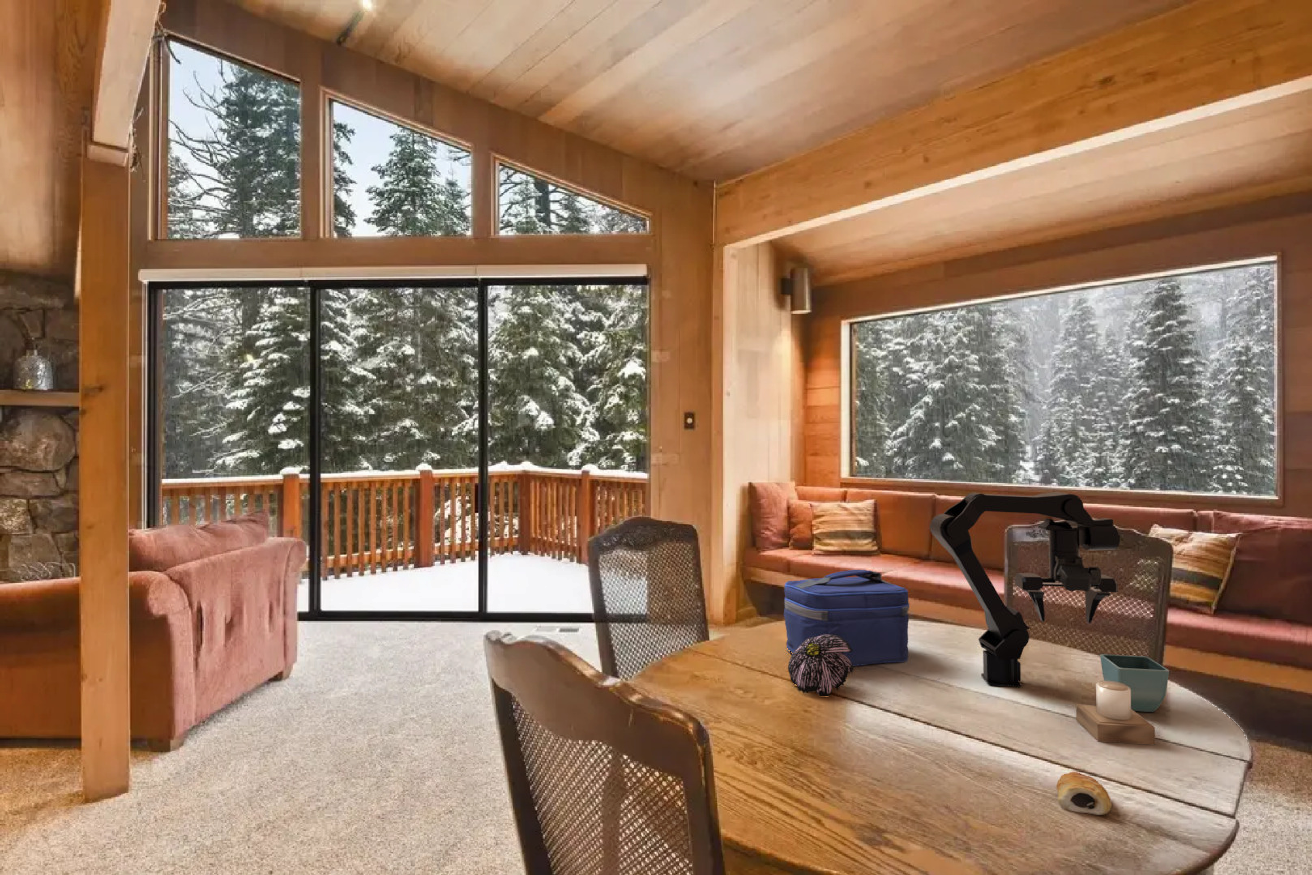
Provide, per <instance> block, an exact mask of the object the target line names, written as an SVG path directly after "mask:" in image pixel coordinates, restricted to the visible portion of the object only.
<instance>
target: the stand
mask: <svg viewBox="0 0 1312 875" xmlns="http://www.w3.org/2000/svg"><path fill="white" fill-rule="evenodd" d="M1075 711H1076V712H1075V714H1076V716H1075V717H1076V718H1075V720H1077V721H1076V723H1078V724H1079V723H1080V724H1081V725H1080V724H1079V725H1080V726H1081V727H1082V728H1083V729H1084V730H1086V732H1088V733H1089V734H1090V735H1091V737H1093V738H1094V739H1095V740H1096V741H1097V742H1102V741H1104V743H1121V744H1137V745H1138V744H1139V745H1153V744H1155V745H1156V727H1155V726H1154V725H1153V724H1152V723H1150V722H1149V721H1148V720H1146V719H1145V718H1143V717H1142V716H1141V715H1140V714H1139V713H1137V711H1133V710H1132V709H1131V719H1129V720H1116V719H1110V718H1107V717H1104V716H1101V715H1099V714H1098V713H1097V705H1090V704H1075Z"/></svg>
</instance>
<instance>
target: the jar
mask: <svg viewBox="0 0 1312 875" xmlns="http://www.w3.org/2000/svg"><path fill="white" fill-rule="evenodd" d="M1095 694H1096V695H1095V696H1096V698H1095V699H1096V700H1095V701H1096V702H1095V703H1096V704H1095V706H1097V713H1098V714H1099V715H1101V716H1104V717H1107V718H1110V719H1116V720H1129V719H1131V689H1130V688H1129V687H1128V686H1127V685H1125V684H1122V683H1119V682H1114V681H1104V680H1100V681H1098V682H1096V683H1095Z"/></svg>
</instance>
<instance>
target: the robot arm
mask: <svg viewBox="0 0 1312 875" xmlns="http://www.w3.org/2000/svg"><path fill="white" fill-rule="evenodd" d="M984 512H994V513H995V512H997V513H1013V514H1014V513H1015V514H1017V513H1019V514H1037V515H1041V516H1046V517H1047V518H1046V519H1044V521H1043V522H1041V523H1039V525H1038V526H1037V528H1038V529H1041V530H1044V531H1048V552H1047V558H1048V560H1049V563H1048V564H1049V570H1047V576H1048V577H1042V576H1040V575H1038V574H1036V573H1034V572H1029V573H1028V572H1017V573H1016V575H1015V576H1014V586H1016V587H1017V588H1020V590H1022V591H1024V592H1026V593H1027V594H1028V596H1029V598H1030V599H1031V600H1032V604H1033V605H1034V608H1035V610H1036V612H1037V615H1038V617H1039V619H1040V621H1041V622H1045V621H1046V620H1045V618H1046V615H1045V604H1044V596H1045V591H1043V590H1042V589H1043V587H1063V588H1064V589H1065V590H1067V591H1068V592H1075V591H1083V592H1084V594H1085V595H1084V599H1085V600H1084V602H1085V603H1084V604H1085V605H1084V606H1085V608H1084V609H1085V619H1086V622H1087V624H1091V623H1092V621H1093V618H1094V616H1095V613H1096V611H1097V610H1098V607H1099V604H1100V603H1101V601H1102V600H1103V599H1104V598H1106V597H1111V595H1112V593H1118V591H1119V590H1118V589H1119V588H1118V582H1117V580H1116V579H1115V578H1114V577H1111V576H1109V575H1106V574H1102V571H1101V570H1102V569H1101V568H1099V567H1097V566H1088V567H1084V564H1083V561H1084V560H1083V557H1082V556H1080V546H1081V547H1082V549H1084V550H1085V551H1114V550H1117V549H1118V548H1119V546H1120V543H1121V535H1120V534H1119V532H1118V531H1119V530H1118V529H1117V527H1116V526H1115V524H1114V519H1113V518H1107V517H1106V518H1105V517H1101V518H1097V519H1095V518H1092V516H1091V515H1090V513H1089V512H1088V511H1087V510H1086V509H1085V507H1084V502H1083V501H1082V499H1081V498H1080V497H1079V496H1078V495H1076V494H1073V493H1067V492H1059V491H1054V492H1045V493H1039V494H1036V495H1017V494H1016V495H1015V494H1014V495H1013V494H1011V495H1010V494H990V493H979V492H969V493H968V494H967V495H965V496H964V497H963V498H962V499H961V500H960V501H958V502H957V503H955V504H954V505H952V506H950V507H949V508H948V509H946V510H945V511H944V512H943V513H939V514H936V515H935V516H934V517H933V518H931V519H932V520H931V521H930V524H929V530H930V533H931V534H932V536H934V538H935V539H936V540H937V541H938V542H939V544H940V545H941V546H942V547H943V548H944V549H945V550H946V551H947V552H948V553H949V554H950V555H951V556H952V557H953V559H954V561H955V563H956V564H957V566H958V568H959V569H960V572H961V573H962V575H963V576H964V578H965V579H966V581H967V583H968V585H969V587H970V589H971V590H972V592H973V594H974V595H975V597H976V598H977V601H978V603H979V604H980V606H981V607H982V609H983V611H984V619H985V620H984V621H985V624H986V626H987V630H986V631H984V633H983V634H982V635H981V636H979V638H978V643H979V645H980V647H981V648H982V649H983V650H982V659H983V660H982V661H983V662H982V664H983V665H982V667H983V669H982V670H983V672H982V673H980V675H981V677H982V679H983V680H984V681H985V682H986V683H987V685H988V686H997V687H998V686H999V687H1020V688H1021V687H1022V684H1021V681H1022V677H1021V676H1022V672H1021V671H1022V670H1021V665H1022V664H1021V662H1020V661H1019V660H1020V659H1021V657H1022V654H1023V651H1024V648H1025V647H1027V645H1028V643H1029V641H1030V637H1031V635H1030V632H1029V630H1030V628H1031V627H1030V626H1029V625H1027V624H1026V623H1025V621H1024V618H1023V615H1022V614H1021V612H1020V611H1018V610H1017V609H1014V608H1013V607H1011V606H1008V605H1005V604H1004V602H1003V600H1002V598H1001V596H1000V595H999V593H998V591H997V589H996V588H995V586H994V584H993V583H992V581H991V579H990V578H989V576H988V574H987V573H986V571H985V569H984V567H983V565H982V564H981V562H980V560H979V559H978V557H977V555H976V554H975V552H974V549H973V544H972V537H971V534H970V532H969V530H970V529H972V528H973V527H974V526H975V525H976V523H977V522H978V520H979V519H980V517H981V516H982V515H983V514H984ZM1049 517H1051V518H1049ZM1053 518H1055V519H1059V520H1064V521H1055V520H1053ZM1070 523H1074V524H1076V525H1071V524H1070Z"/></svg>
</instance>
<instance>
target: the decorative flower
mask: <svg viewBox="0 0 1312 875" xmlns="http://www.w3.org/2000/svg"><path fill="white" fill-rule="evenodd" d="M851 651H853V650H852V649H851V647H850V644H849V643H847V641H846V640H844V639H843V638H841V637H839V636H837V635H832V634H826V635H821V636H818V637H812V638H808V639H806V640H805V641H804V642H803V643H801V645H800V646H799V648H798V649H797V650H796V651H795V652H794V653H793V654H791V656H790V658H789V661H788V665H787V670H788V673H789V677H790V682H791V683H792V684H793V683H794V684H796V685H797V691H798V690H799V691H798V692H802V693H803V694H805V693H807V694H808V693H809V692H810V693H813V692H815V694H818V697H819V696H829V697H830V696H831V695H832V692H833V688H834V689H836V690H837V691H838V690H839V689H840V687H841V686H844V685H845V682H847V680H846V679H847V678H848V676H849V674H853V672H854V666H853V665H852V663H851V661H850V660H849V659H848V658H847V657H846V655H845V654H843V653H842V652H851ZM794 684H793V685H794Z"/></svg>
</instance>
